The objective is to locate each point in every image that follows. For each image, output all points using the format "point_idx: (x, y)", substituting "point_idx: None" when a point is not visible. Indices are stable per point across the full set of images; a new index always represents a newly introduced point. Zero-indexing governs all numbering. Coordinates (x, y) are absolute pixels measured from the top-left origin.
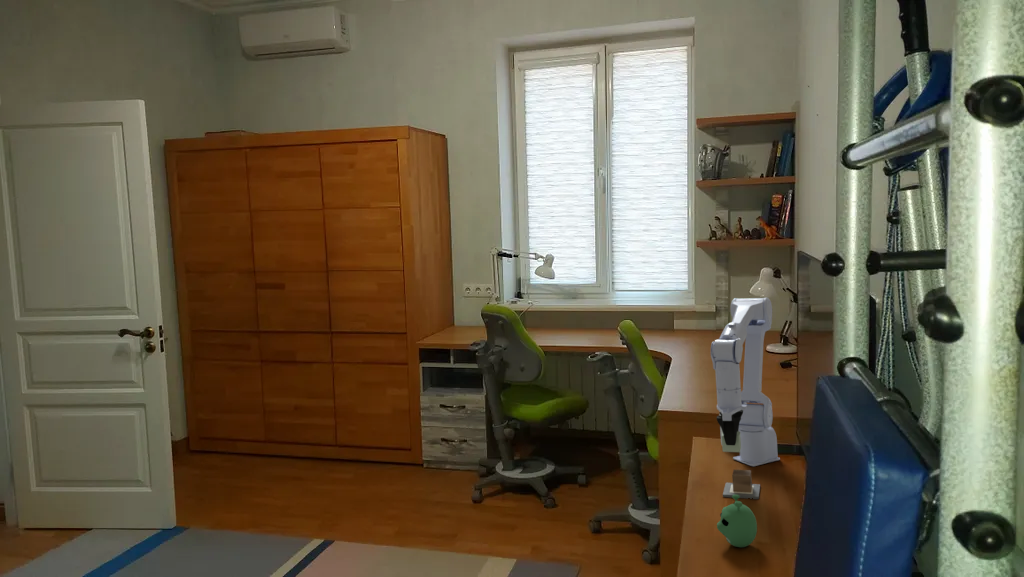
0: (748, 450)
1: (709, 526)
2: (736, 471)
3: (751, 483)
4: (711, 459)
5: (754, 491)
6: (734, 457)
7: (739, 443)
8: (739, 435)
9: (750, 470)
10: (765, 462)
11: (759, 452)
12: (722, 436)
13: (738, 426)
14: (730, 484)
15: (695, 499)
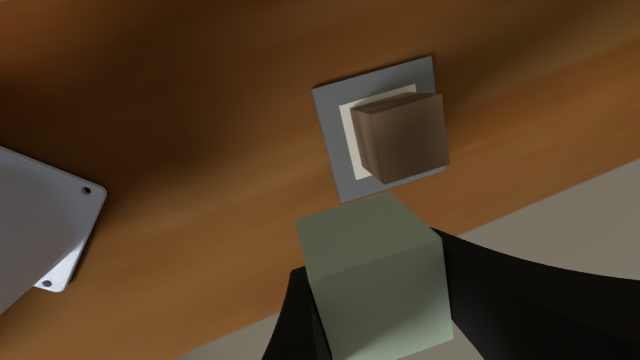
0: (41, 244)
1: (633, 119)
2: (403, 166)
3: (370, 105)
4: (115, 343)
5: (388, 85)
6: (56, 287)
7: (387, 216)
8: (371, 251)
9: (372, 116)
10: (28, 158)
11: (12, 194)
12: (450, 329)
13: (312, 326)
14: (354, 183)
15: (476, 225)
